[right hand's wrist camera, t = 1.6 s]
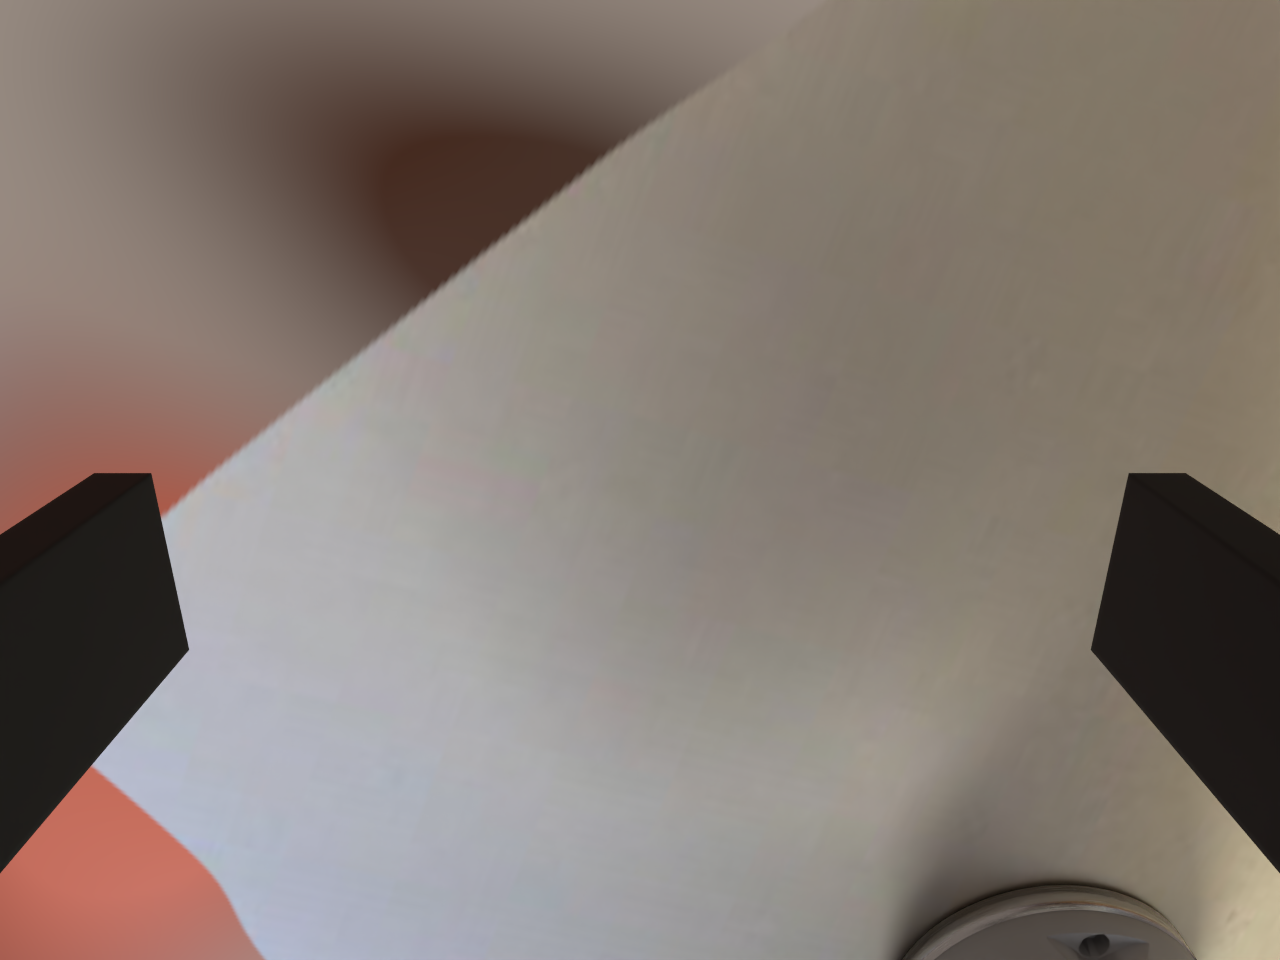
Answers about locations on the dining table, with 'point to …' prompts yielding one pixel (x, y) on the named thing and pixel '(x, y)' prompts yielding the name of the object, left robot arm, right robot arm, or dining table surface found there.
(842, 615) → the dining table surface
